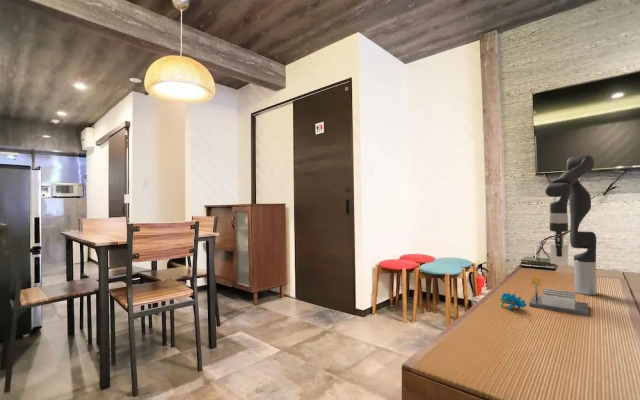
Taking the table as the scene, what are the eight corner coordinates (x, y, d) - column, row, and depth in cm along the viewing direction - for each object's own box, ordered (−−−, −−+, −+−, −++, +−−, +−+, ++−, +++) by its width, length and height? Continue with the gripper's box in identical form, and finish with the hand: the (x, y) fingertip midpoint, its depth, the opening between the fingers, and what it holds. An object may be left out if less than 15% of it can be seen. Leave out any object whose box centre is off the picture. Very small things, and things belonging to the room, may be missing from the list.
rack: (533, 298, 161) (533, 273, 161) (588, 306, 147) (587, 279, 148) (529, 306, 148) (529, 279, 148) (588, 316, 134) (588, 286, 134)
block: (550, 262, 163) (551, 243, 163) (567, 264, 159) (568, 245, 159) (550, 263, 161) (550, 244, 161) (567, 265, 157) (568, 245, 157)
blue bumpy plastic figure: (531, 306, 141) (519, 292, 139) (527, 318, 139) (514, 303, 137) (507, 303, 151) (496, 290, 149) (503, 314, 149) (491, 300, 147)
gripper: (550, 221, 168) (551, 253, 168) (548, 222, 157) (549, 257, 157) (568, 221, 163) (569, 255, 163) (567, 222, 153) (568, 258, 152)
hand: (559, 255), depth 160 cm, fingers closed on block, 2 cm apart
